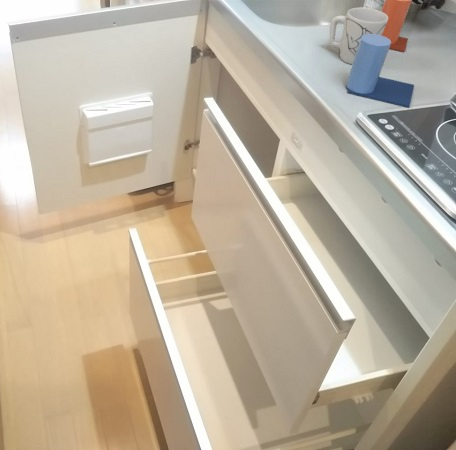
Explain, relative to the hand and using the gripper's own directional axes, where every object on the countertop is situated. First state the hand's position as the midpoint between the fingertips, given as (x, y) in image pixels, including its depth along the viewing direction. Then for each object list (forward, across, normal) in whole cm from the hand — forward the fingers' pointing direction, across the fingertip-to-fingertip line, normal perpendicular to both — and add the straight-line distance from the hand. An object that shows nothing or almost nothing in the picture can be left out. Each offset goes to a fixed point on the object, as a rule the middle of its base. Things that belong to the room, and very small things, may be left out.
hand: (405, 0), depth 123 cm
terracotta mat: (+6, 0, +8) cm, 10 cm away
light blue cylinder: (+34, +6, +8) cm, 35 cm away
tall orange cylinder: (+6, 0, +8) cm, 10 cm away
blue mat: (+30, +9, +8) cm, 33 cm away
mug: (+21, -2, +8) cm, 23 cm away
